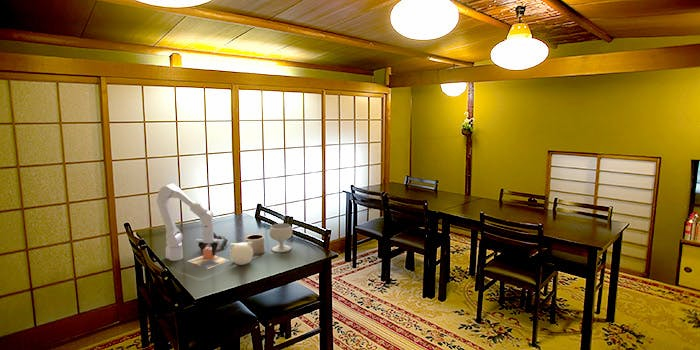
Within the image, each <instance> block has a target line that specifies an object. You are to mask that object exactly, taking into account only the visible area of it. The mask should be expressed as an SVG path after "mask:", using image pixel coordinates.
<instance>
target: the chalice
mask: <svg viewBox="0 0 700 350" xmlns="http://www.w3.org/2000/svg"><path fill="white" fill-rule="evenodd" d="M268 232H269V234H268V235H269V237H270V238H271V239H272V240H275V241H277V242H278V243H279V245H275V246H273V247H272V248H271V249H270V250H271V251H272V252H274V253H285V252H289V251H291V250H292V247H291V246H290V245H286V244H284V242H285V241H287V240H288V239H290V238H291V237H292V236H293V228H292V226H291V224H289V223H286V222H285V223H284V222H282V223H281V222H280V223H275V224H272V225H271V226H270V228H269V231H268Z"/></svg>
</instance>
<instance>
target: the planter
mask: <svg viewBox="0 0 700 350" xmlns="http://www.w3.org/2000/svg"><path fill="white" fill-rule="evenodd" d="M247 242H252V245H251V247H252V250H253V252H254V253H253V255H254V254H258V255H262V254H263V253H264V252H265V236H264V235H263V234H259V233H257V234H255V233H254V234H249V235H247V236H245V243H247Z"/></svg>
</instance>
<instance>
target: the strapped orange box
mask: <svg viewBox="0 0 700 350" xmlns="http://www.w3.org/2000/svg"><path fill="white" fill-rule="evenodd" d="M202 256H203V258H213V257H214V256H216V254H215V255H214V256H213V254H212V247H211V246H210V247H206V248H204V249H203V253H202Z"/></svg>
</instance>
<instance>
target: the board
mask: <svg viewBox="0 0 700 350" xmlns="http://www.w3.org/2000/svg"><path fill="white" fill-rule="evenodd" d="M230 260H231V259H227V258H224V257H221V256H218V255H215V256H214V257H213V258H203V255H200V256H198V257H195V258H192V259H189V260H187V262H189V263H191V264H194V265H196V266H200V267H202V268H204V269H208V270H209V269H212V268H214V267H217V266H219V265H221V264H224V263H227V262H230Z"/></svg>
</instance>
